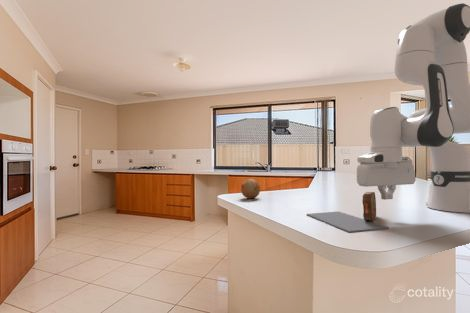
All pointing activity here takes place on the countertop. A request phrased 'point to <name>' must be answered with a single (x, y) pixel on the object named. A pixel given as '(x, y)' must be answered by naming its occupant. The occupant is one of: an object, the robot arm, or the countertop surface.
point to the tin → (369, 206)
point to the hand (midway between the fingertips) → (387, 199)
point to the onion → (250, 188)
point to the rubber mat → (347, 222)
